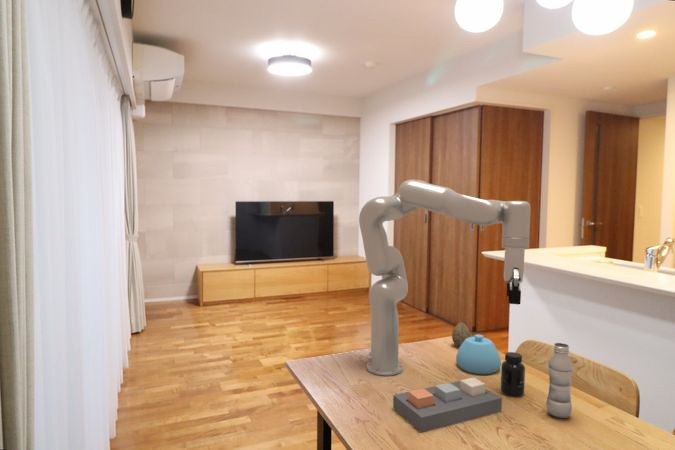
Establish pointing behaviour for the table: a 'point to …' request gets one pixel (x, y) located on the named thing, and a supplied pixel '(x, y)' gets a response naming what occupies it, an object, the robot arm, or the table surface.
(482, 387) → the cream button
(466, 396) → the button panel
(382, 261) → the robot arm
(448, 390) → the light gray button
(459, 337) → the decorative egg
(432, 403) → the terracotta button
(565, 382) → the plastic bottle
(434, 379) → the table surface
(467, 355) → the sugar bowl
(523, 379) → the supplement bottle
